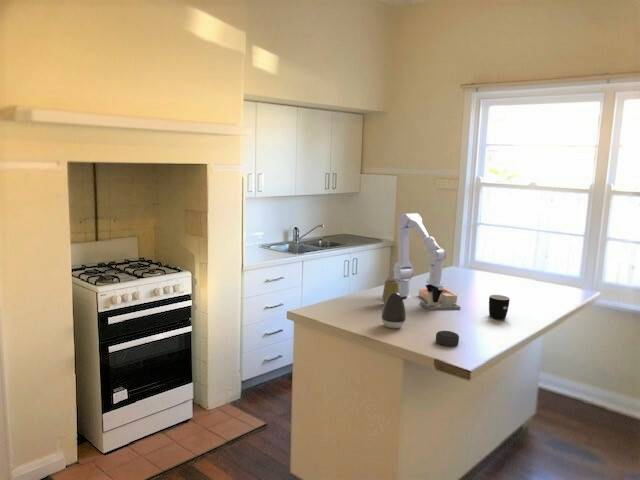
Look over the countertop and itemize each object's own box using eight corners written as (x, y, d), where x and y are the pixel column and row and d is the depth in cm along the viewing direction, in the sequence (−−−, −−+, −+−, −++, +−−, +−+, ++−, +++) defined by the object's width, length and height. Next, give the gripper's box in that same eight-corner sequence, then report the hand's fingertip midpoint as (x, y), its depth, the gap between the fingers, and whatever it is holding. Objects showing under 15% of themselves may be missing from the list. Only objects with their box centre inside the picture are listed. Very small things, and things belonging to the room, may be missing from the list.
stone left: (430, 306, 260) (431, 294, 259) (426, 303, 264) (427, 291, 263) (438, 305, 261) (440, 294, 260) (435, 303, 265) (436, 291, 264)
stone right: (444, 307, 262) (445, 295, 261) (440, 305, 266) (441, 293, 265) (453, 307, 262) (454, 295, 262) (449, 305, 267) (450, 293, 266)
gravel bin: (428, 303, 270) (429, 295, 269) (418, 296, 283) (419, 289, 282) (456, 303, 273) (457, 295, 273) (445, 296, 286) (445, 289, 285)
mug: (502, 322, 244) (504, 300, 243) (483, 317, 250) (486, 296, 249) (513, 317, 253) (515, 296, 252) (495, 313, 259) (497, 292, 258)
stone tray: (429, 311, 256) (429, 307, 256) (419, 304, 267) (420, 300, 267) (460, 310, 260) (460, 306, 259) (449, 304, 271) (450, 300, 270)
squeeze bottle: (400, 304, 265) (403, 269, 262) (395, 308, 258) (398, 272, 255) (384, 302, 268) (387, 267, 265) (379, 305, 261) (382, 269, 258)
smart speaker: (432, 339, 217) (433, 329, 217) (454, 339, 218) (455, 330, 217) (438, 347, 208) (439, 337, 208) (461, 347, 209) (462, 337, 208)
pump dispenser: (399, 332, 223) (402, 296, 221) (376, 327, 228) (379, 292, 226) (409, 326, 232) (411, 292, 229) (387, 321, 237) (389, 288, 235)
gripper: (449, 277, 254) (447, 304, 256) (437, 270, 268) (434, 296, 270) (436, 277, 252) (433, 305, 254) (423, 270, 266) (421, 296, 268)
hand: (433, 300), depth 262 cm, fingers closed on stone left, 4 cm apart
